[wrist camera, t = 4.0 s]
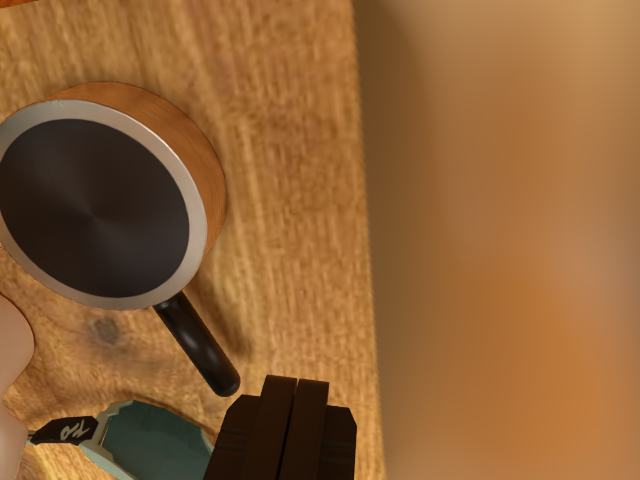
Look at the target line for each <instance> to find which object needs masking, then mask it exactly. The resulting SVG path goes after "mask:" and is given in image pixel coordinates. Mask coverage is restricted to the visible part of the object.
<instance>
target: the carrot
mask: <svg viewBox="0 0 640 480" xmlns="http://www.w3.org/2000/svg"><path fill="white" fill-rule="evenodd" d="M33 1H37V0H0V8H5V7H10V6H15V5H19V4H24V3H28V2H33Z"/></svg>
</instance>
